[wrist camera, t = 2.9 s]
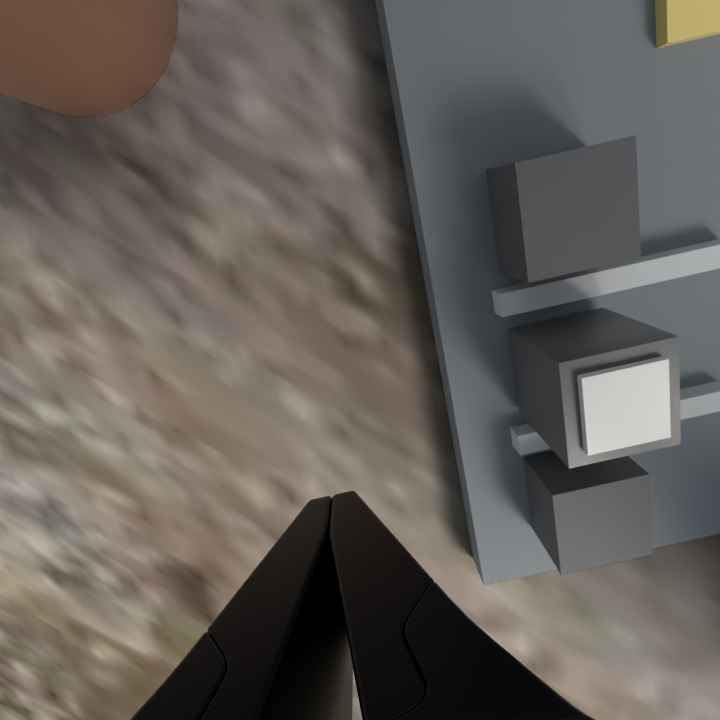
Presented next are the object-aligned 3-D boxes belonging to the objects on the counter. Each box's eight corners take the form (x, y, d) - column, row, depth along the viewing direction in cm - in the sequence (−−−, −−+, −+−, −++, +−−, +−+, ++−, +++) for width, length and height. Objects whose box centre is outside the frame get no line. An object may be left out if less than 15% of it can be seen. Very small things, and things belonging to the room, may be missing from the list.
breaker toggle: (607, 393, 14) (687, 448, 11) (519, 413, 14) (573, 472, 11) (602, 307, 13) (685, 339, 10) (508, 328, 13) (562, 365, 10)
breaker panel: (879, 470, 17) (1003, 529, 14) (473, 559, 17) (505, 637, 14) (979, -334, 11) (1242, -551, 8) (342, -181, 11) (346, -334, 8)
